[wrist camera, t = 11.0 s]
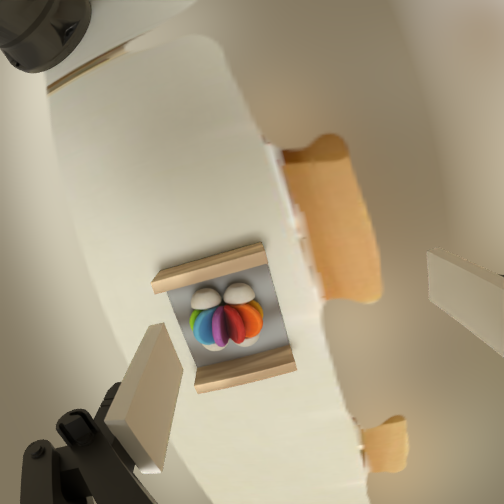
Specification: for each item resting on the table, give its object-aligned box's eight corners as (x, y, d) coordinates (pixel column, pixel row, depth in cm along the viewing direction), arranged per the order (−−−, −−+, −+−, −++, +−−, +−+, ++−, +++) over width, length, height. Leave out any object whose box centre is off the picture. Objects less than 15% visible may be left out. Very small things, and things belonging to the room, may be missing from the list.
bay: (159, 270, 42) (150, 282, 37) (261, 241, 41) (264, 250, 37) (200, 374, 46) (197, 393, 41) (291, 351, 45) (297, 370, 41)
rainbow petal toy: (266, 333, 44) (271, 361, 37) (198, 343, 44) (192, 371, 37) (257, 276, 42) (261, 297, 35) (185, 287, 42) (175, 309, 35)
